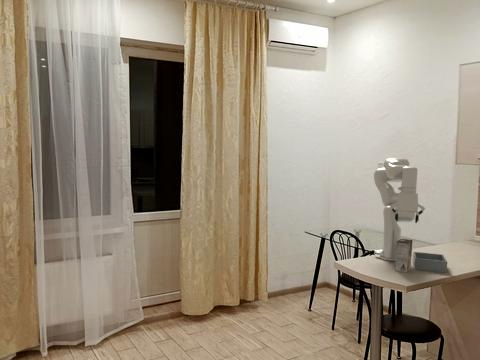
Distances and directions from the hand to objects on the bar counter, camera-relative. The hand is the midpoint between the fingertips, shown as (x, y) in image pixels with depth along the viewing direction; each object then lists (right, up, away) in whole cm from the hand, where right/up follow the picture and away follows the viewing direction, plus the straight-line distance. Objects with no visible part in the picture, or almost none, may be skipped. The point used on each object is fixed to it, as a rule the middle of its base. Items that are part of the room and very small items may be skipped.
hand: (406, 221), depth 236 cm
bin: (+16, -26, +10) cm, 32 cm away
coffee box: (-1, -26, +2) cm, 26 cm away
